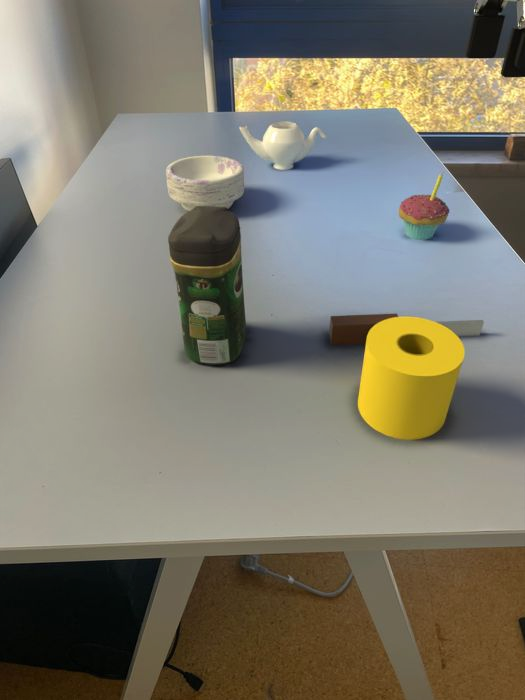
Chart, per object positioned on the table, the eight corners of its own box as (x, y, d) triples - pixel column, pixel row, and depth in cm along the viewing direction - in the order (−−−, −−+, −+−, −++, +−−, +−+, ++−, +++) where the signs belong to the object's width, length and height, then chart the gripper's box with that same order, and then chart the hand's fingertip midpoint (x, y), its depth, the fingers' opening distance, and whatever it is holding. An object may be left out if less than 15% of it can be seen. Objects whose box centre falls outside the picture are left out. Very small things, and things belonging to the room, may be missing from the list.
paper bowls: (257, 197, 108) (256, 159, 103) (223, 227, 97) (220, 186, 92) (194, 186, 113) (190, 149, 108) (155, 214, 103) (149, 174, 98)
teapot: (328, 172, 118) (330, 130, 113) (241, 175, 118) (239, 132, 112) (322, 158, 126) (324, 117, 120) (240, 160, 125) (239, 120, 120)
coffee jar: (196, 322, 74) (181, 198, 62) (250, 326, 73) (245, 200, 61) (177, 366, 67) (156, 234, 55) (238, 371, 66) (229, 238, 54)
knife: (331, 345, 69) (332, 325, 67) (328, 335, 71) (330, 315, 69) (482, 339, 70) (488, 319, 67) (476, 330, 71) (482, 309, 69)
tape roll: (355, 434, 57) (365, 370, 51) (359, 374, 65) (367, 312, 59) (449, 445, 56) (470, 381, 50) (441, 383, 63) (458, 320, 57)
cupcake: (448, 230, 95) (463, 165, 87) (435, 249, 89) (450, 181, 82) (403, 220, 98) (414, 157, 91) (387, 238, 93) (397, 172, 85)
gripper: (666, -183, 36) (574, 85, 47) (549, -151, 50) (499, 51, 60) (561, -183, 36) (493, 86, 47) (473, -151, 50) (436, 52, 60)
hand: (497, 66), depth 54 cm, fingers open, 9 cm apart
